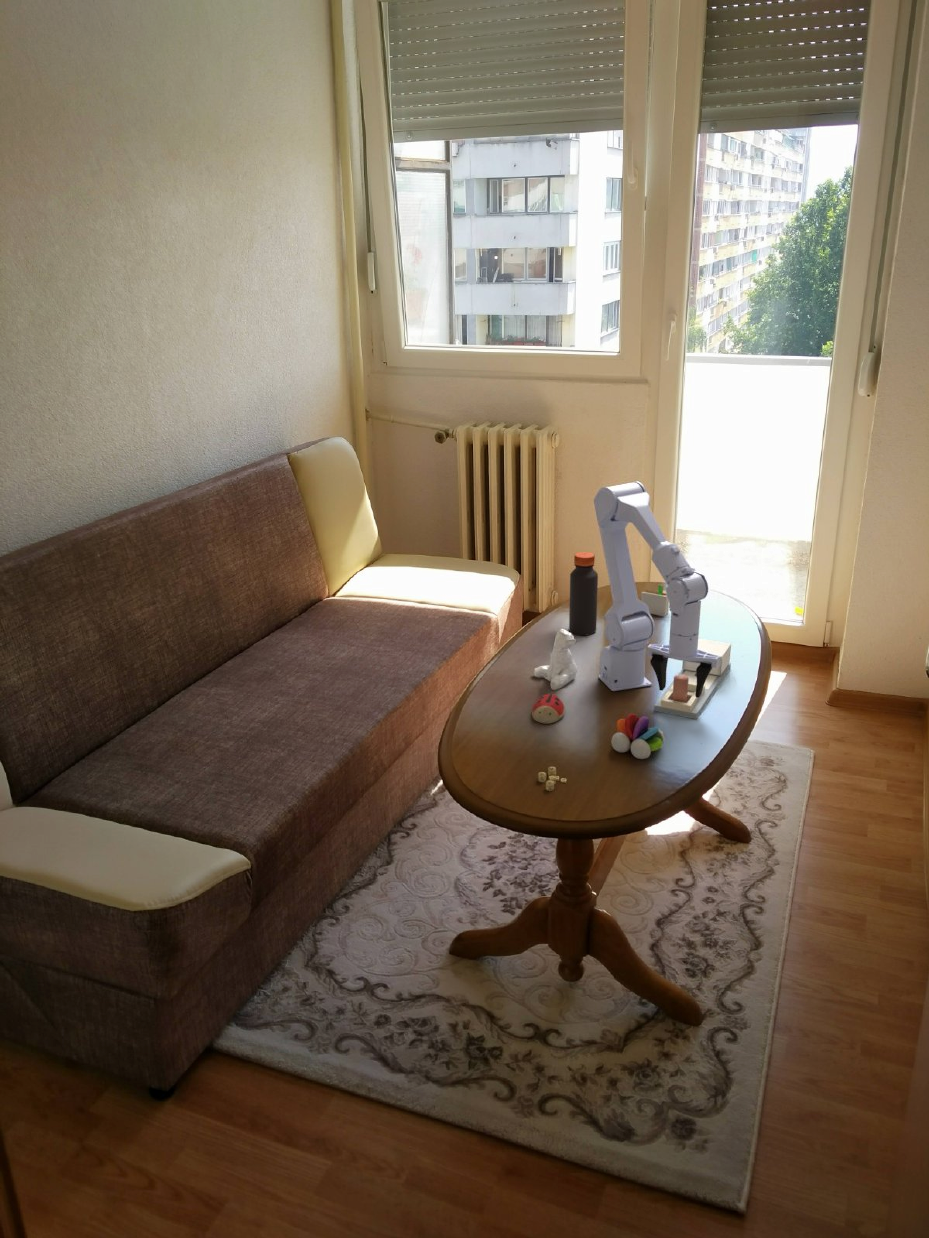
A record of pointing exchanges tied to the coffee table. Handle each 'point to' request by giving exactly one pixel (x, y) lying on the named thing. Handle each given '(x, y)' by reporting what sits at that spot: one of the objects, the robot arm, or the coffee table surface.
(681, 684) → the peg
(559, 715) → the ladybug figurine
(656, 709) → the board
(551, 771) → the dice set
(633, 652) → the robot arm
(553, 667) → the white creature statuette
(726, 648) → the block
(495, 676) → the coffee table surface
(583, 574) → the bottle
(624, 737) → the rainbow fan toy
